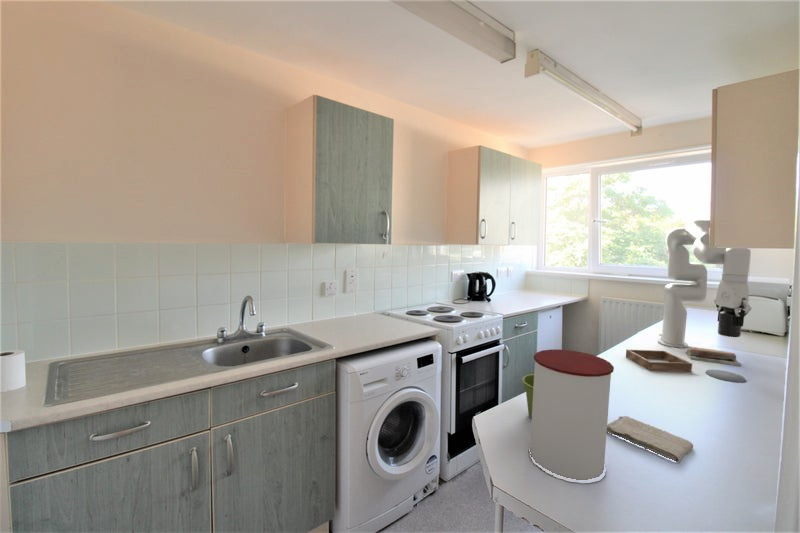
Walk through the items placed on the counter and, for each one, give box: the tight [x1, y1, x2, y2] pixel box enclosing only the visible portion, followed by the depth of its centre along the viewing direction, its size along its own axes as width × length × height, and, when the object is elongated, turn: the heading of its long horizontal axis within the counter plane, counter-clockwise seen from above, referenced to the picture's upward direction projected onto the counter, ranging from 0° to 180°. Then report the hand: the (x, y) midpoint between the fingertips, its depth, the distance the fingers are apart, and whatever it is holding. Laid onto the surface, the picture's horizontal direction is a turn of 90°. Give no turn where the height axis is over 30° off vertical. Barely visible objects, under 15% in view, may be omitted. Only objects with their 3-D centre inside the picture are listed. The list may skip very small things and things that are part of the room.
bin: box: [625, 348, 693, 373], centre depth 161 cm, size 17×17×4 cm
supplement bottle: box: [717, 307, 742, 338], centre depth 146 cm, size 7×7×12 cm
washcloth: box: [607, 415, 694, 463], centre depth 100 cm, size 12×18×3 cm, turn 37°
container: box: [529, 349, 615, 480], centre depth 89 cm, size 17×17×25 cm
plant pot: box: [521, 373, 534, 419], centre depth 110 cm, size 12×12×11 cm
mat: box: [705, 369, 746, 383], centre depth 148 cm, size 12×12×1 cm
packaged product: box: [684, 346, 742, 367], centre depth 169 cm, size 18×5×10 cm
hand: (729, 323), depth 146 cm, fingers closed on supplement bottle, 6 cm apart
